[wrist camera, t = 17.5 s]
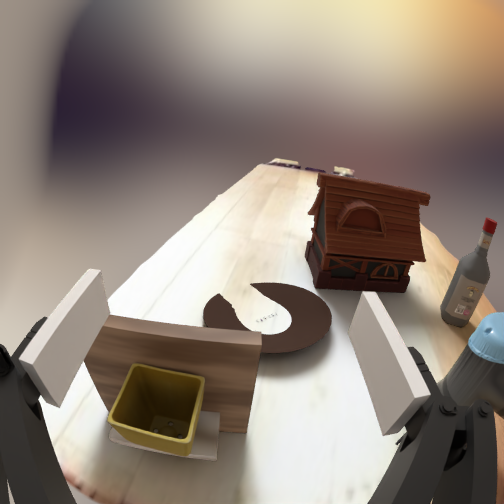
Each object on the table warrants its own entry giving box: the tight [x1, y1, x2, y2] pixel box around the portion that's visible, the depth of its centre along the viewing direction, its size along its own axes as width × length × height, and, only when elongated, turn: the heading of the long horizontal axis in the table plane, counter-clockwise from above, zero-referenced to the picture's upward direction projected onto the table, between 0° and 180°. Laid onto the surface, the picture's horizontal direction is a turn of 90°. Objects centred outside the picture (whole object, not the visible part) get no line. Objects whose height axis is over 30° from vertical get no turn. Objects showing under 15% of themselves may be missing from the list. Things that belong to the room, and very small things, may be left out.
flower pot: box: [107, 363, 205, 456], centre depth 27 cm, size 9×9×9 cm
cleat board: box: [84, 315, 262, 461], centre depth 32 cm, size 15×22×20 cm
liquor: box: [440, 218, 497, 327], centre depth 58 cm, size 9×9×30 cm
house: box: [305, 173, 430, 293], centre depth 78 cm, size 35×28×29 cm
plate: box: [203, 283, 332, 353], centre depth 62 cm, size 28×28×4 cm
